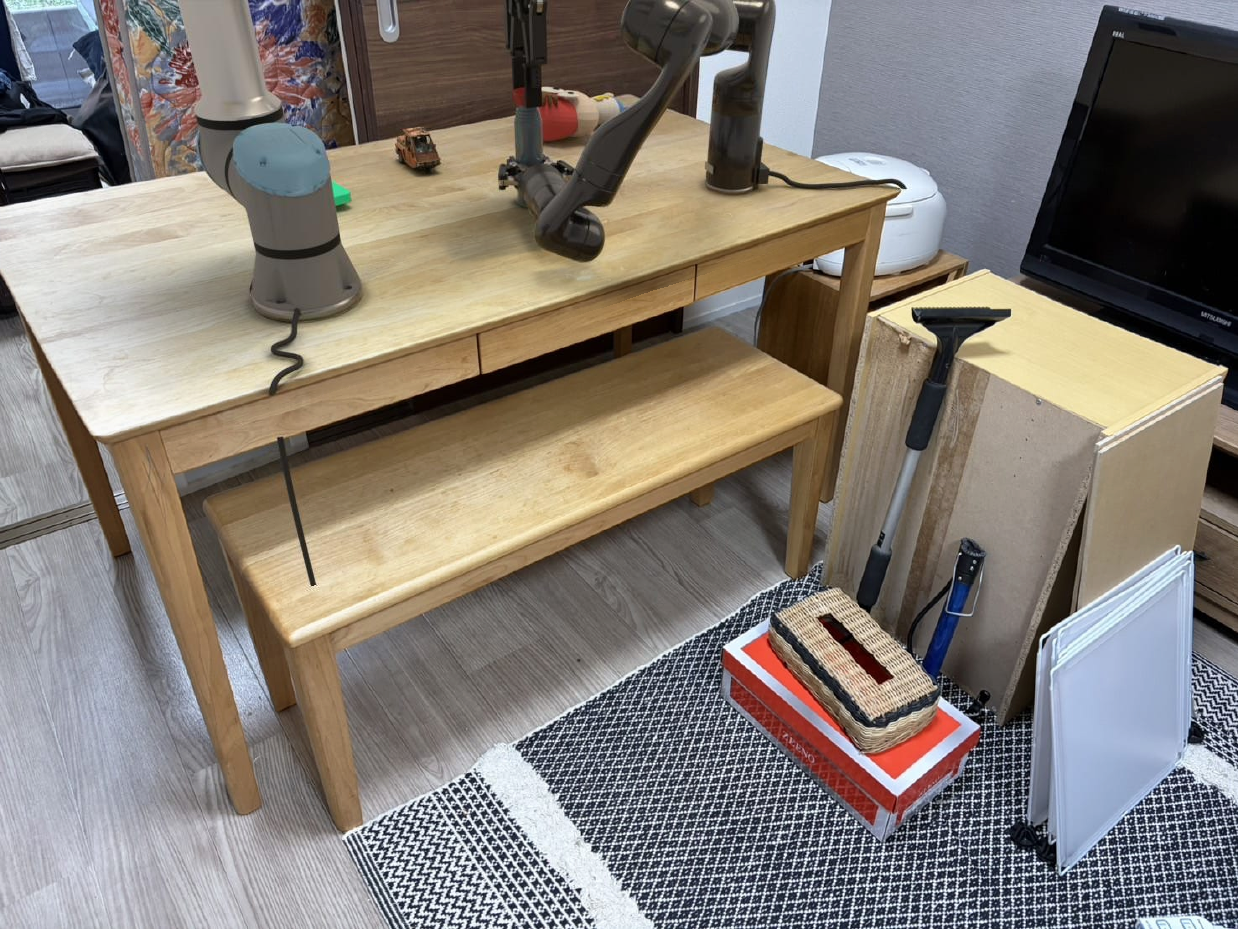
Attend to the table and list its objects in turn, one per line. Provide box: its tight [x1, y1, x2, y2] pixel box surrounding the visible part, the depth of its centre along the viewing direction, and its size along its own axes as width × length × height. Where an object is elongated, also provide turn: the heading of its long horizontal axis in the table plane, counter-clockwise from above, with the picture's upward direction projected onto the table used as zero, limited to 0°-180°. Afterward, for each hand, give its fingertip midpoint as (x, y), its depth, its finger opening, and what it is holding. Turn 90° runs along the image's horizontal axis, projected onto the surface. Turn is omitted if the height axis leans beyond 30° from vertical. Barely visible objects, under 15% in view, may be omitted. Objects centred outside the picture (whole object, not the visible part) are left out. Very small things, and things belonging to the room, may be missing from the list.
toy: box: [538, 86, 629, 142], centre depth 199 cm, size 18×10×30 cm
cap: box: [512, 87, 525, 106], centre depth 156 cm, size 5×5×2 cm
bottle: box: [513, 105, 544, 208], centre depth 161 cm, size 5×5×19 cm
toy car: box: [394, 126, 442, 174], centre depth 178 cm, size 6×12×7 cm, turn 39°
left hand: (527, 102), depth 156 cm, fingers open, 5 cm apart
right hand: (526, 160), depth 165 cm, fingers closed on bottle, 5 cm apart
